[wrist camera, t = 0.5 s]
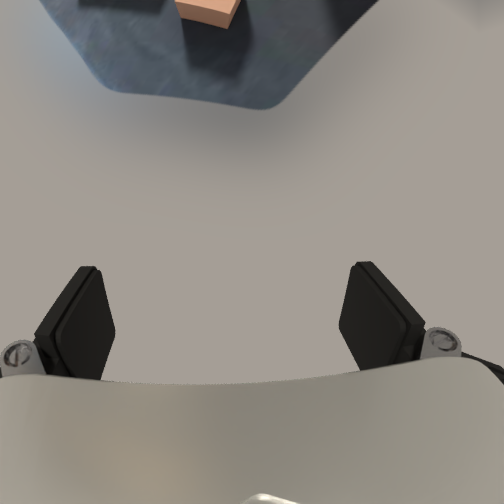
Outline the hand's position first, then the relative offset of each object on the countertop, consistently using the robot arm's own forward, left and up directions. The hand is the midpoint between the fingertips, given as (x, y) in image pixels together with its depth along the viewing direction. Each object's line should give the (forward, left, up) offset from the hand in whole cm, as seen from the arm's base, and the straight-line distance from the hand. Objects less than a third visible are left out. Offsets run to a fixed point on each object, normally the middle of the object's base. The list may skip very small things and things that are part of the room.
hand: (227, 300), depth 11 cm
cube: (-20, -8, -28) cm, 36 cm away
